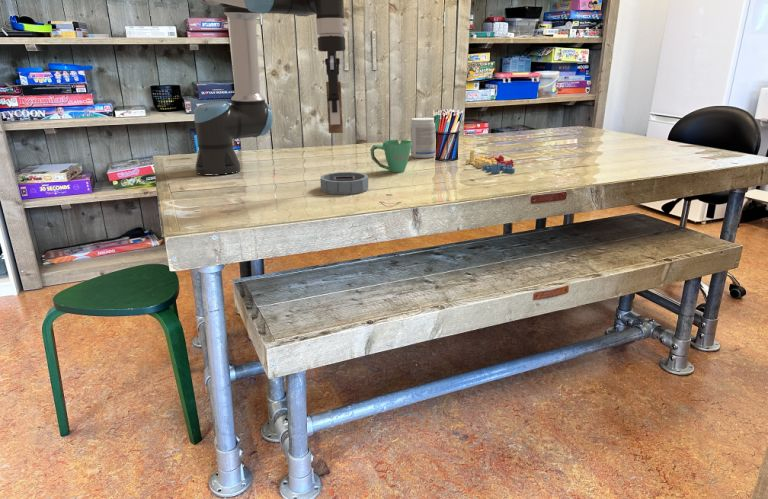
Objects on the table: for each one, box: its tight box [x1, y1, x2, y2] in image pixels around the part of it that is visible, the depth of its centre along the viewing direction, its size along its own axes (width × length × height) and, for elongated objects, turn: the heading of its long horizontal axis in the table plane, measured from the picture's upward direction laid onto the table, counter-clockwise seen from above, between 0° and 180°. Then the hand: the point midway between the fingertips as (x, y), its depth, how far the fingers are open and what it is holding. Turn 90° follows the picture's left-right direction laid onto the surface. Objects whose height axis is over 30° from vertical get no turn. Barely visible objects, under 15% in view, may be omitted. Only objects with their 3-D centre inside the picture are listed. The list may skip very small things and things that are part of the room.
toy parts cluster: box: [466, 149, 516, 175], centre depth 200 cm, size 45×14×5 cm, turn 12°
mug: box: [370, 139, 412, 173], centre depth 184 cm, size 15×10×10 cm
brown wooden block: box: [325, 81, 344, 134], centre depth 154 cm, size 4×2×14 cm, turn 93°
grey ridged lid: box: [319, 171, 369, 196], centre depth 161 cm, size 14×14×4 cm
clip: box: [334, 176, 355, 181], centre depth 161 cm, size 6×4×3 cm
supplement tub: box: [410, 117, 436, 159], centre depth 211 cm, size 10×10×15 cm
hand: (335, 123), depth 155 cm, fingers closed on brown wooden block, 2 cm apart
